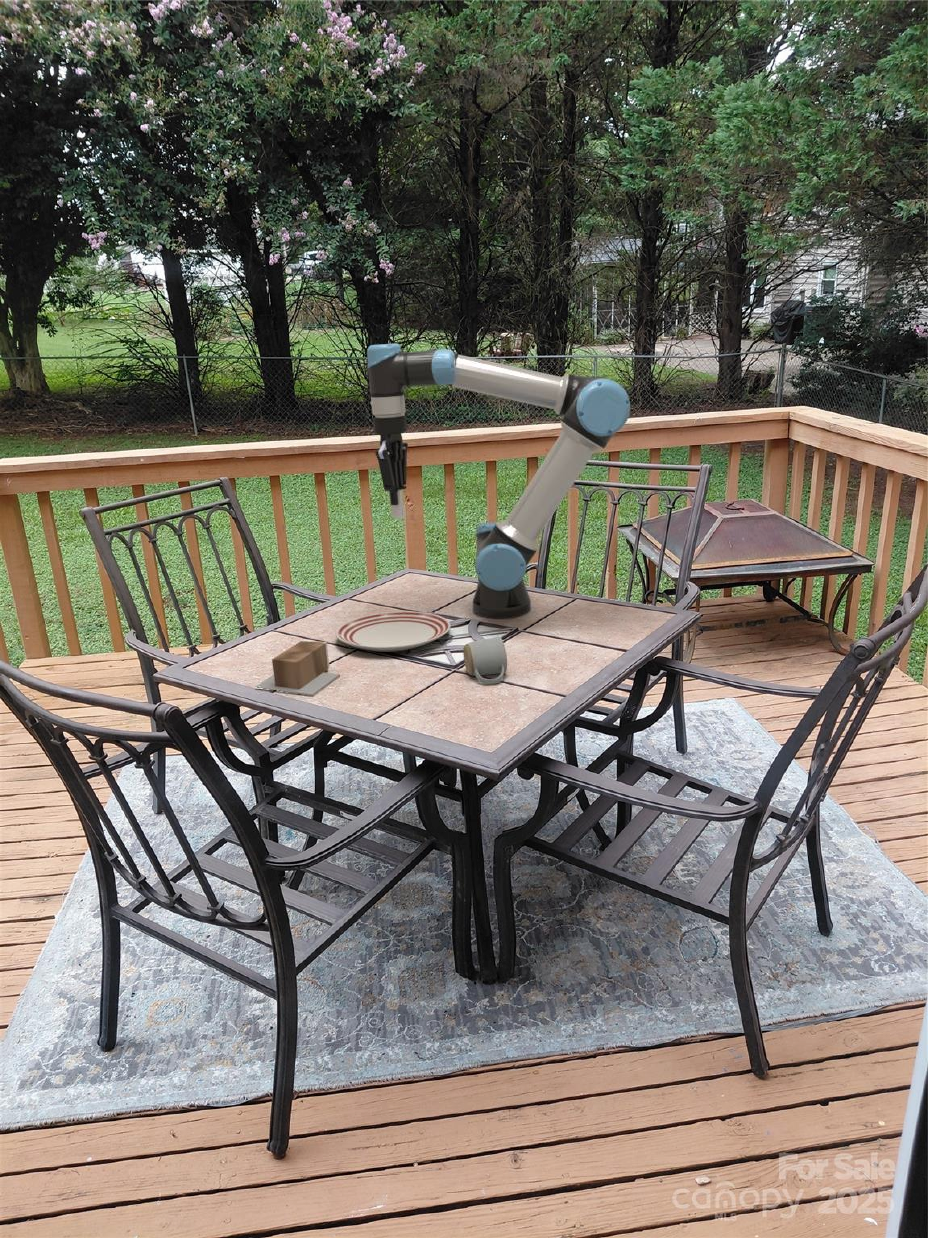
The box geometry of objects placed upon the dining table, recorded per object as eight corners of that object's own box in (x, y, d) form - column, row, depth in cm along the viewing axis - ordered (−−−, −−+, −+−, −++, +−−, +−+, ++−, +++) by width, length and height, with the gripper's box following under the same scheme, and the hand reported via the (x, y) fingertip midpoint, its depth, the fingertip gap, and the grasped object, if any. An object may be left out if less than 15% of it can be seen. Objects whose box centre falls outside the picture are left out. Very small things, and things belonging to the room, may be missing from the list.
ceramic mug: (462, 669, 180) (461, 636, 178) (499, 664, 182) (498, 631, 179) (474, 688, 171) (473, 654, 168) (513, 683, 172) (512, 648, 170)
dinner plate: (348, 622, 215) (347, 609, 214) (454, 619, 213) (454, 607, 212) (325, 662, 189) (324, 648, 188) (446, 659, 187) (445, 645, 186)
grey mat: (339, 676, 180) (339, 674, 179) (313, 696, 170) (312, 694, 170) (284, 669, 185) (284, 667, 184) (255, 689, 175) (254, 687, 175)
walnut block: (326, 642, 181) (296, 662, 171) (329, 667, 183) (300, 689, 173) (302, 639, 183) (271, 659, 173) (305, 665, 185) (275, 686, 175)
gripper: (386, 412, 197) (395, 511, 204) (361, 419, 185) (371, 523, 193) (415, 411, 194) (423, 512, 202) (392, 418, 183) (401, 524, 190)
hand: (398, 517), depth 197 cm, fingers closed
